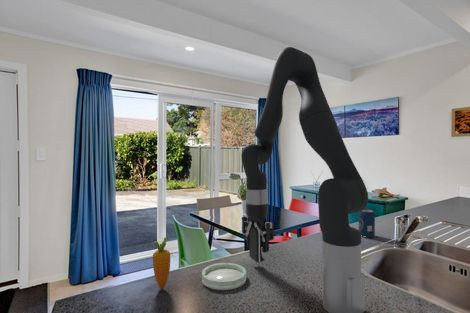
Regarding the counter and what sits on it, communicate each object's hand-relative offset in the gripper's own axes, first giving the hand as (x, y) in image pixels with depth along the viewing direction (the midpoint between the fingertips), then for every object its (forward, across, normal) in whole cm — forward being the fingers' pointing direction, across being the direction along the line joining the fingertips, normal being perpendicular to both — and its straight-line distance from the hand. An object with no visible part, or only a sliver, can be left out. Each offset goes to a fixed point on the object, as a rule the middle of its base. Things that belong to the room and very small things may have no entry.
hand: (257, 249), depth 99 cm
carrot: (+6, +6, +33) cm, 34 cm away
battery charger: (+4, 0, 0) cm, 4 cm away
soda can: (+6, -6, -63) cm, 64 cm away
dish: (+6, 0, +15) cm, 16 cm away
